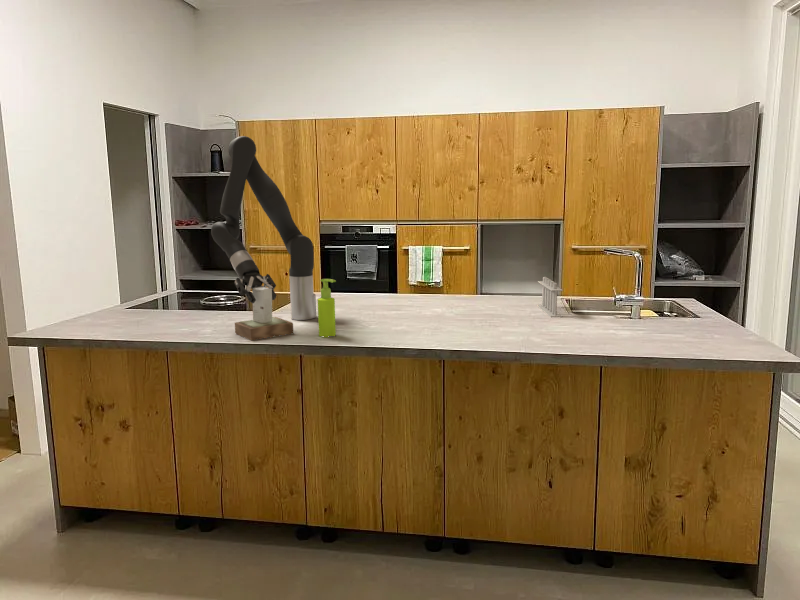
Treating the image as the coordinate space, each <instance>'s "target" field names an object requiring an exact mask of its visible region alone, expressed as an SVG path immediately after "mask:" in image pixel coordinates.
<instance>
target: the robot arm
mask: <svg viewBox="0 0 800 600" xmlns="http://www.w3.org/2000/svg"><path fill="white" fill-rule="evenodd" d="M256 145H257V144H256V142H255V141H254V140H253V139H252V138H251V137H249V136H245V135H242V136H241V135H240V136H238V137H236V138H234V139H231V141H230V143H229V145H228V148H227V149H228V151H227V152H228V155H229V158H231V167H230V172H229V176H228V179H227V181H226V184H225V188H224V190H223V194H222V198H221V202H220V203H221V204H220V206H219V208H220V209H219V213H220V214H221V216H223V217H224V218H225V222H223V221H217V222H215V223H214V224H212V226H211V229H210V234H211V237H212V239H213V241H214V242H215V243H216V245H218V246H219V248H221V250H222V251H223V252H225V254H226V256H227V258H228V259H229V262H230V263H231V265H232V268H233V270H234V271H235V273H236V275H237V276H238V277H236V279H235V280H234V282H233V283H234V286H235V287H236V289H237V292H238V294H239V295H240V296H243V295H245V296H246V298H247V300H248V302H250V303H251V304H253V303H254V302H255V301H256V299H255V297H254V295H253V294H252V288H257V287H266V288H271V289H272V301H274V300H275V299H276V298H277V294H276V292H275V288H276V287H277V284H276V283H275V282H274V280H273V278H272V277H271V275H270V274H269V273H266V275H262V274H261V273H260V269H259V267H258V266H257V264H256V262H255V261H254V259H253V257H252V256H251V255H250V253H249V252H248V250H247V248H246V246H245V245H244V244H243V242H242V241H240V240H239V237H240V234H241V233H240V232H241V225H240V224H241V223H240V210H241V208H242V201H243V196H244V192H245V187H246V182H247V183H248V185H249V187H250V189H251V191H252V192H253V195H254V196H255V197H256V200H257V201H258V203H259V205H260V207H261V209H262V210H263V212H264V213H265V215H266V216H267V217H268V219H269V220H270V222H271V223H272V224H273V226H274V227H275V229H276V230H277V232H278V234H279V236H280V238H281V240H282V243H283V244H284V246H285V249H286V251H287V253H289V255H290V266H289V271H288V274H289V276H288V277H289V293H290V294H289V296H290V318H291V319H292V320H296V321H305V320H307V321H308V320H312V319H315V318H317V296H316V294H315V292H314V268H315V267H314V266H315V263H314V262H315V258H314V257H315V255H314V253H315V252H314V243H313V241H312V240H311V238H309V236H307V235H304V234H303V233H302V232H301V231H300V229H299V228H298V226H297V225H296V223H295V221H294V220H293V217H292V214H291V211H290V207H289V205H288V202H287V200H286V199H285V196H284V194H282V191H281V190H280V189H279V187H278V185H277V184H276V183H275V182H274V181H273V179H272V178H271V177H270V176H269V175H268V174H267V173H266V172H265V170H264V169H263V168H262V166H261V164H260V163H259V161H258V159H257V156H256V154H257V153H256V152H257V147H256ZM244 286H245V287H244Z"/></svg>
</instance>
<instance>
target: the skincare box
mask: <svg viewBox="0 0 800 600" xmlns="http://www.w3.org/2000/svg"><path fill="white" fill-rule="evenodd" d="M266 287H267V286H266ZM266 287H257V288H252V289H251V292H252V294H253V295H254V297H255V299H256V301H255V302H254V303H252V320H253V321H255V322H260V323H267V322H271V321H272V317H273V300H272V289H271V288H268V287H267V288H266Z"/></svg>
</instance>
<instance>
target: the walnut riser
mask: <svg viewBox="0 0 800 600" xmlns="http://www.w3.org/2000/svg"><path fill="white" fill-rule="evenodd" d="M234 332H235V333H236V335H238V336H240V337H242V336H243V337H242V338H244V337H245V338H244V339H247V340H249V341H256V339H257V340H262V338H264V339H268V338H267V337H270V338H273V336H276V337H280V336H279V335H282V336H286V335H285V334H288V335H292V334H291V333H293V334H294V322H292V321H289V320H286V319H283V318H280V317H277V316H272V321H271V322H267V323H260V322H255V321H253V319H249V320H244V321H236V322H234Z"/></svg>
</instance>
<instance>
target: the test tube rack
mask: <svg viewBox="0 0 800 600" xmlns="http://www.w3.org/2000/svg"><path fill="white" fill-rule="evenodd" d="M537 283H539V284H540V285H542V291H541V292H542V294H541V299H542V300H541V304H537V305H536V306H538V309H540V310H541V311H542V312H544V313H545V314H546V315H547V316H548V317H549V318H550V317H551V318H552V317H560V319H561V318H563V315H562V314H560V313H559V312H558V310H557V309H558V308H557V307H558V303H557V302H558V292H563V291H564V290H563V289H562V288H560V287H559V286H558V283H557V282H555V281H552V279H550V278H548V277H547V276H543V277H542V280H540V281H539V280H537ZM551 318H550V319H551ZM552 319H553V318H552Z"/></svg>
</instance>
